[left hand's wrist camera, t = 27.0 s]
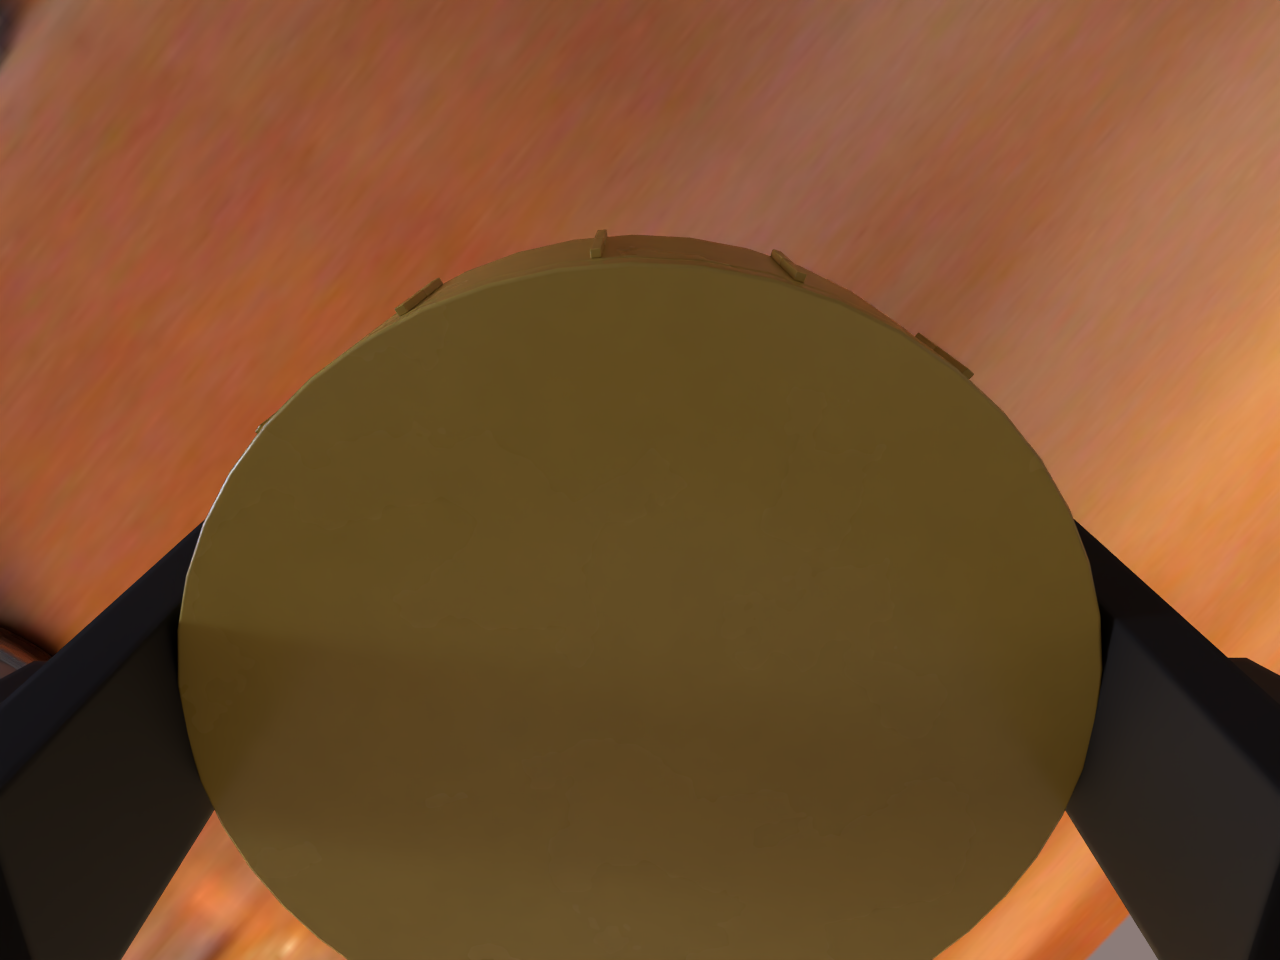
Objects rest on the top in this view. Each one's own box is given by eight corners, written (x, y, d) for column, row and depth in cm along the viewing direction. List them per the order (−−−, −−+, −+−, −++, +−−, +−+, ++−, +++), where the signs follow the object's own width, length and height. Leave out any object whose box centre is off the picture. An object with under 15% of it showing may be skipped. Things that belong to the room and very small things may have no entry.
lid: (158, 741, 13) (59, 866, 11) (456, 58, 10) (402, 39, 8) (761, 991, 15) (782, 1143, 13) (1180, 483, 12) (1307, 568, 9)
